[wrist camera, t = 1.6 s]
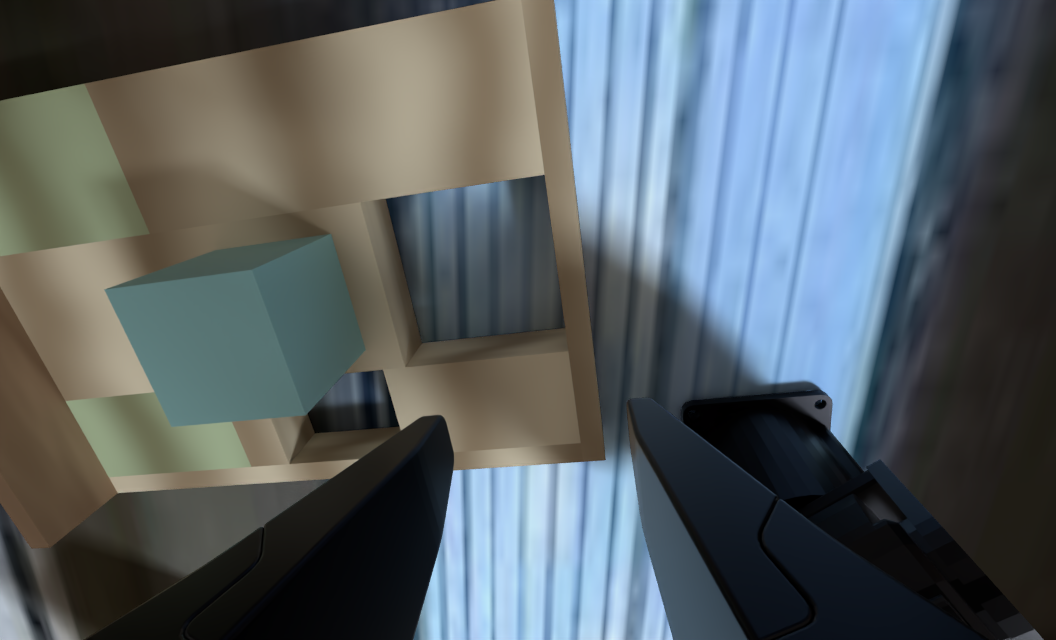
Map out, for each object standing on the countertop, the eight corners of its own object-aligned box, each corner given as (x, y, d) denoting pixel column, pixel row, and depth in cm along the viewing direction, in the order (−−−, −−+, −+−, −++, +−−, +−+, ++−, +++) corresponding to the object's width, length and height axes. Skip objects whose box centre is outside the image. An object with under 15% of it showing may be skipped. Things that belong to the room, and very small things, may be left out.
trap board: (554, 6, 18) (545, -48, 12) (602, 427, 24) (611, 518, 18) (-41, 123, 21) (-260, 124, 16) (140, 462, 28) (31, 548, 22)
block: (331, 233, 19) (252, 269, 14) (365, 349, 21) (305, 415, 16) (215, 250, 20) (104, 289, 15) (258, 361, 21) (171, 427, 17)
